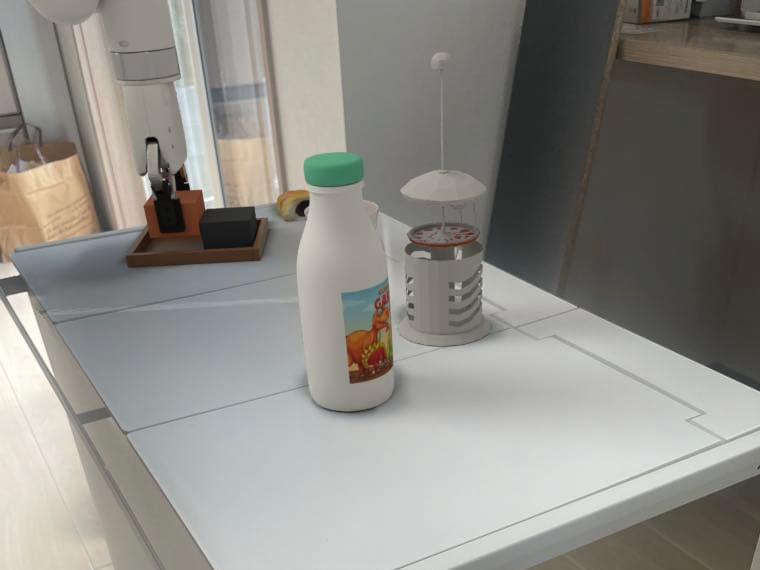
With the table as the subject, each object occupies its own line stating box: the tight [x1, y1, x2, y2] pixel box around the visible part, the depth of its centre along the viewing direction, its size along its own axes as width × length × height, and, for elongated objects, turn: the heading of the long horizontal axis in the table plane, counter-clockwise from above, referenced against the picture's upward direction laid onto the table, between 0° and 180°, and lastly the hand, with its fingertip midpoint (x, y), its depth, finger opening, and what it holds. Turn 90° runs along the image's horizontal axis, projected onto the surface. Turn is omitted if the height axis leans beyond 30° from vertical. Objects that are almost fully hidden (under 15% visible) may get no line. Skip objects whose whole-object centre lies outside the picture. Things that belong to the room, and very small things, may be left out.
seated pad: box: [199, 205, 258, 250], centre depth 110 cm, size 6×6×4 cm
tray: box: [124, 217, 270, 269], centre depth 110 cm, size 17×14×2 cm
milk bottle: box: [296, 151, 395, 412], centre depth 70 cm, size 8×8×20 cm
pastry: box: [275, 189, 310, 222], centre depth 122 cm, size 9×7×4 cm
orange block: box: [142, 189, 207, 238], centre depth 108 cm, size 6×6×4 cm
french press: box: [397, 51, 492, 347], centre depth 81 cm, size 10×12×25 cm
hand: (177, 222), depth 109 cm, fingers closed on orange block, 6 cm apart
